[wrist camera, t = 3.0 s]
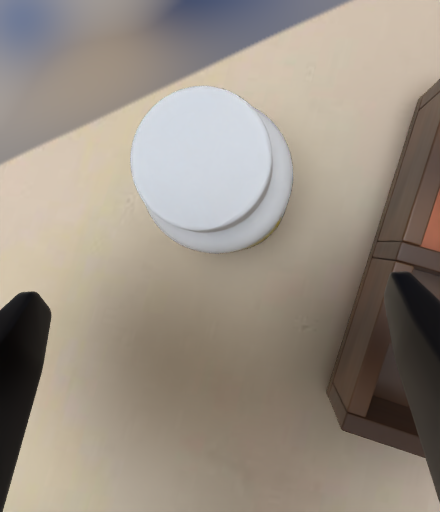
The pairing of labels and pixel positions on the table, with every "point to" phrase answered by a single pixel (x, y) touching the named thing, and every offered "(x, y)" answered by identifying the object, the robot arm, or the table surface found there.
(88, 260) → the table surface
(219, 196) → the supplement bottle
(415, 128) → the box
